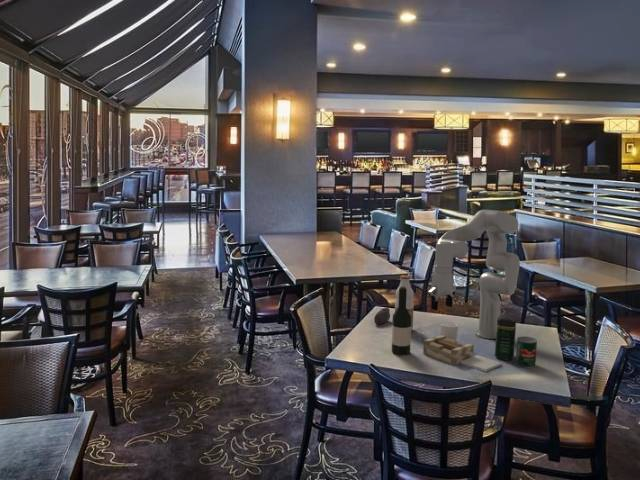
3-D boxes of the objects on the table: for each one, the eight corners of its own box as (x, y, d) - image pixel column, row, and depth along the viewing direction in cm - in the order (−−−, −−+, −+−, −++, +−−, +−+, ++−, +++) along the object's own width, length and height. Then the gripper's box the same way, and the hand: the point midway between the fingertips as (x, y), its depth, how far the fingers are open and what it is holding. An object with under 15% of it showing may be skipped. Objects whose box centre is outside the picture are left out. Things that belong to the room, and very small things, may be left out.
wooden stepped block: (441, 347, 247) (442, 334, 246) (472, 358, 234) (473, 344, 233) (423, 353, 239) (423, 340, 238) (454, 364, 225) (455, 350, 225)
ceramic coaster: (477, 357, 235) (477, 355, 235) (501, 365, 226) (501, 363, 225) (460, 363, 227) (460, 361, 227) (485, 371, 218) (485, 369, 218)
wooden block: (444, 347, 240) (444, 339, 240) (462, 353, 233) (463, 344, 232) (437, 349, 237) (437, 341, 237) (455, 356, 230) (456, 347, 229)
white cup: (457, 348, 246) (458, 327, 244) (439, 347, 247) (440, 326, 246) (456, 343, 254) (457, 322, 252) (439, 341, 255) (440, 321, 254)
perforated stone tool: (379, 327, 278) (379, 314, 277) (370, 325, 281) (370, 312, 280) (392, 320, 290) (392, 308, 289) (383, 318, 293) (384, 306, 292)
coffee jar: (513, 361, 230) (515, 320, 227) (494, 359, 233) (496, 317, 230) (514, 354, 239) (516, 314, 236) (495, 352, 242) (498, 312, 239)
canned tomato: (525, 368, 222) (526, 343, 220) (511, 362, 229) (513, 337, 227) (539, 366, 225) (541, 341, 223) (525, 360, 232) (527, 335, 231)
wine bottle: (411, 350, 243) (413, 285, 239) (408, 356, 235) (410, 289, 231) (393, 348, 246) (395, 284, 241) (389, 354, 238) (391, 288, 234)
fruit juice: (415, 332, 270) (417, 277, 266) (397, 332, 268) (399, 278, 264) (409, 326, 279) (411, 274, 275) (391, 327, 277) (393, 274, 273)
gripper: (449, 266, 242) (447, 303, 244) (423, 270, 231) (421, 309, 233) (463, 269, 236) (461, 307, 238) (437, 273, 225) (435, 312, 227)
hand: (441, 308), depth 236 cm, fingers open, 9 cm apart
